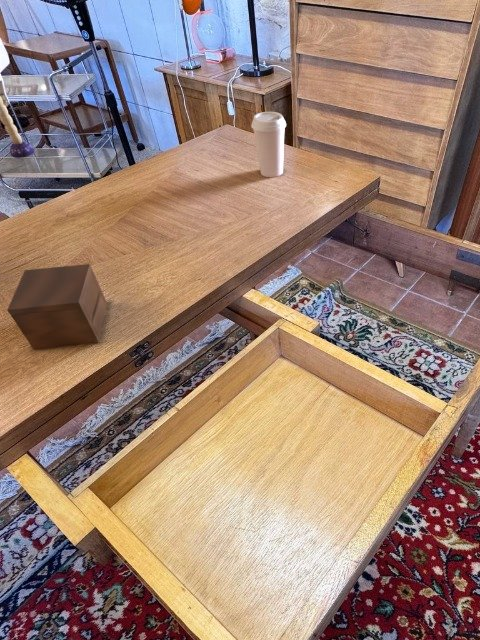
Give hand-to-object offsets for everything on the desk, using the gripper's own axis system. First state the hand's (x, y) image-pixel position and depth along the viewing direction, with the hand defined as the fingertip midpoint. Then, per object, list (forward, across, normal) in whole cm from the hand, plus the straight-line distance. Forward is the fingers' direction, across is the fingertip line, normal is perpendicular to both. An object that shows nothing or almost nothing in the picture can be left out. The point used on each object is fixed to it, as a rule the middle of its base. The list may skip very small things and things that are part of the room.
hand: (0, 111), depth 78 cm
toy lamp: (+7, 0, 0) cm, 7 cm away
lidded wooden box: (+31, +23, +4) cm, 39 cm away
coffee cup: (+31, -39, +50) cm, 71 cm away
